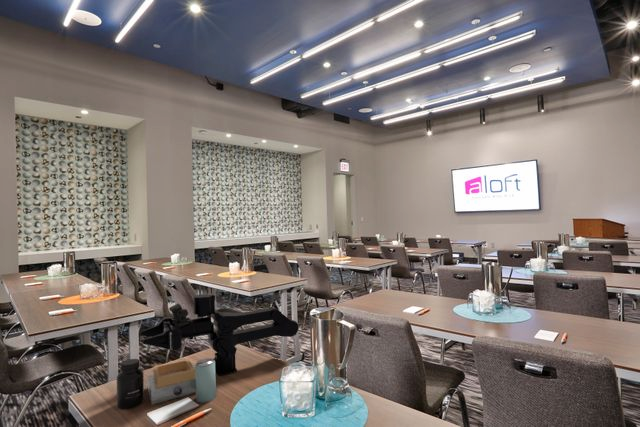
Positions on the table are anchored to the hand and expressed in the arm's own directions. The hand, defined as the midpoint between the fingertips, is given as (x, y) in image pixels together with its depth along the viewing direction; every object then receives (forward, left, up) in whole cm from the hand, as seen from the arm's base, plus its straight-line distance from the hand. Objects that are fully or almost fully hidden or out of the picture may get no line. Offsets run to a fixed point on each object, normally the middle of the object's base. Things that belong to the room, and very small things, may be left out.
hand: (141, 337), depth 108 cm
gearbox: (-8, +4, -16) cm, 19 cm away
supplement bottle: (+4, +6, -17) cm, 18 cm away
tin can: (-15, +15, -17) cm, 27 cm away
